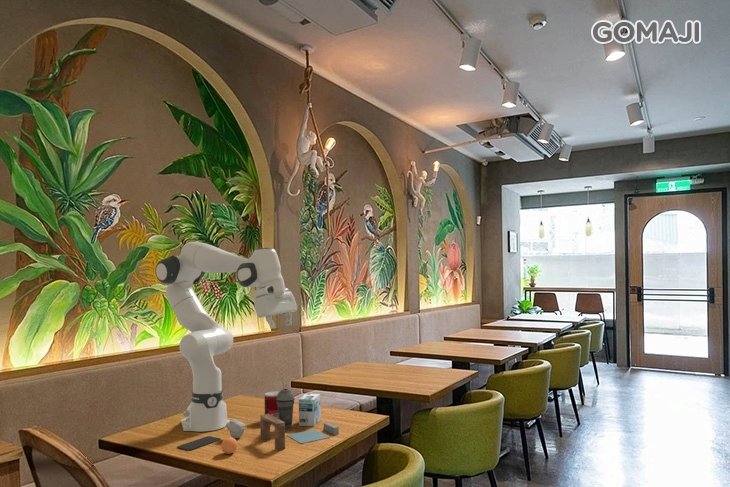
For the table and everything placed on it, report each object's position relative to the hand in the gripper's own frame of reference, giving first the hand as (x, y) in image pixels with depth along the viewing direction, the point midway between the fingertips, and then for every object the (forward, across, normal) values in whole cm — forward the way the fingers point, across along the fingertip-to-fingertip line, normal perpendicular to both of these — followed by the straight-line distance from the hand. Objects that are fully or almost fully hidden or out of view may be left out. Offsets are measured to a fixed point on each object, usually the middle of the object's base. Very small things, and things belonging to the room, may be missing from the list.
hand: (281, 326), depth 192 cm
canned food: (+36, -24, -32) cm, 54 cm away
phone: (+34, +13, -38) cm, 53 cm away
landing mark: (+42, -11, -7) cm, 44 cm away
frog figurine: (+36, +2, -30) cm, 47 cm away
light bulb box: (+40, -27, -16) cm, 51 cm away
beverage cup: (+39, -15, -20) cm, 46 cm away
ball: (+35, +16, -20) cm, 44 cm away
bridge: (+40, +2, -14) cm, 42 cm away
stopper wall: (+43, -20, -2) cm, 47 cm away
